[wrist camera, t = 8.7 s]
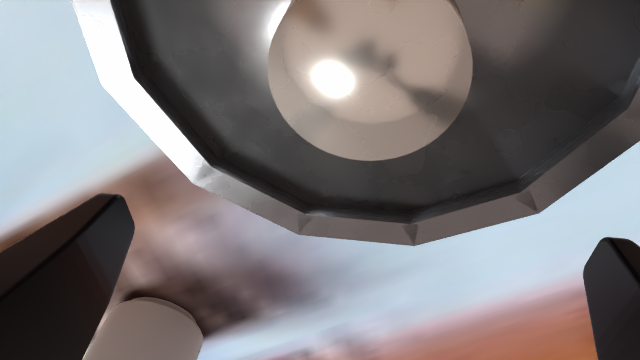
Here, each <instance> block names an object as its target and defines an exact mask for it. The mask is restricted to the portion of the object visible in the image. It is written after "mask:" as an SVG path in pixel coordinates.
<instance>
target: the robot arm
mask: <svg viewBox="0 0 640 360" xmlns="http://www.w3.org/2000/svg"><path fill="white" fill-rule="evenodd" d="M134 230H135V226H134V221H133V219H132V216H131V214H130V211H129V209H128V206H127V204H126V201H125V199H124V198H123V197H122V196H121V195H119V194H110V193H100V194H98V195H96V196H94V197H92V198H91V199H89V200H87V201H86V202H84V203H82V204H81V205H79V206H77V207H75V208H74V209H72V210H70V211H69V212H67V213H65V214H64V215H62V216H60V217H59V218H57V219H55V220H54V221H52V222H50V223H49V224H47V225H45V226H43V227H42V228H40V229H38V230H37V231H35V232H33V233H32V234H30V235H28V236H27V237H25V238H23V239H22V240H20V241H18V242H16V243H15V244H13V245H11V246H10V247H8V248H6V249H5V250H3V251H1V252H0V360H82V359H83V356H84V354H85V352H86V350H87V348H88V346H89V344H90V342H91V340H92V338H93V336H94V334H95V332H96V330H97V327H98V325H99V323H100V321H101V319H102V317H103V315H104V313H105V311H106V309H107V306H108V304H109V302H110V299H111V297H112V294H113V292H114V289H115V286H116V283H117V281H118V278H119V275H120V272H121V269H122V266H123V264H124V261H125V258H126V255H127V252H128V249H129V247H130V244H131V241H132V238H133V235H134ZM583 279H584V285H585V291H586V296H587V302H588V308H589V313H590V319H591V325H592V330H593V336H594V342H595V347H596V351H597V356H598V360H640V247H639V246H638V245H637V244H636V243H634V242H633V241H631V240H629V239H623V238H612V237H606V238H603V239H602V240H600V242H599V243H598V245H597V246H596V248H595V250H594V251H593V253H592V255H591V256H590V258H589V260H588V261H587V263H586V265H585V267H584V271H583Z"/></svg>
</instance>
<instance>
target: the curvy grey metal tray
mask: <svg viewBox="0 0 640 360" xmlns="http://www.w3.org/2000/svg"><path fill="white" fill-rule="evenodd" d="M71 1H72V4H73V6H74V9H75V12H76V15H77V17H78V20H79V23H80V26H81V29H82V31H83V34H84V37H85V40H86V42H87V45H88V48H89V51H90V54H91V56H92V59H93V62H94V65H95V68H96V70H97V73H98V76H99V79H100V81H101V84H102V85H103V87H104V88H105V89H106V90H107V91H108V92H109V93H110V94H111V95H112V96H113V97H114V98H115V100H116V101H117V102H118V103H119V104H120V105H121V106H122V107H123V108H124V109H125V110H126V111H127V113H128V114H129V115H130V116H131V117H132V118H133V119H134V120H135V121H136V122H137V123H138V124H139V125H140V127H141V128H142V129H143V130H144V131H145V132H146V133H147V134H148V135H149V136H150V137H151V138H152V140H153V141H154V142H155V143H156V144H157V145H158V146H159V147H160V148H161V149H162V150H163V151H164V153H165V154H166V155H167V156H168V157H169V158H170V159H171V160H172V161H173V162H174V163H175V164H176V165H177V167H178V168H179V169H180V170H181V171H182V172H183V173H184V174H185V175H186V176H187V177H188V178H189V180H190V181H191V182H192V183H194V184H196V185H198V186H200V187H202V188H204V189H206V190H208V191H210V192H212V193H214V194H216V195H218V196H220V197H222V198H224V199H226V200H228V201H231V202H233V203H235V204H237V205H239V206H241V207H243V208H245V209H247V210H249V211H251V212H253V213H255V214H257V215H259V216H261V217H263V218H265V219H268V220H270V221H272V222H274V223H276V224H278V225H280V226H282V227H284V228H286V229H288V230H290V231H292V232H294V233H296V234H298V235H307V236H317V237H328V238H338V239H348V240H359V241H369V242H379V243H390V244H400V245H410V246H416V245H420V244H424V243H427V242H431V241H435V240H439V239H443V238H446V237H450V236H454V235H458V234H462V233H466V232H469V231H473V230H477V229H481V228H485V227H488V226H492V225H496V224H500V223H504V222H507V221H511V220H515V219H519V218H523V217H527V216H530V215H534V214H538V213H540V212H541V211H543V210H544V209H546V208H547V207H548V206H550V205H551V204H553V203H554V202H555V201H557V200H558V199H559V198H561V197H562V196H564V195H565V194H566V193H568V192H569V191H571V190H572V189H573V188H575V187H576V186H578V185H579V184H580V183H582V182H583V181H585V180H586V179H587V178H589V177H590V176H591V175H593V174H594V173H596V172H597V171H598V170H600V169H601V168H603V167H604V166H605V165H607V164H608V163H610V162H611V161H612V160H614V159H615V158H616V157H618V156H619V155H621V154H622V153H623V152H625V151H626V150H628V149H629V148H630V147H632V146H633V145H635V144H636V143H637V142H639V141H640V0H457V3H458V7H459V10H460V13H461V17H462V20H463V24H464V27H465V30H466V34H467V37H468V40H469V44H470V47H471V53H472V61H473V69H472V80H471V86H470V89H469V93H468V96H467V99H466V101H465V103H464V105H463V107H462V109H461V111H460V112H459V114H458V116H457V117H456V119H455V120H454V121H453V122H452V124H451V125H450V126H449V127H448V128H447V129H446V130H445V131H444V132H443V133H442V134H441V135H440V136H439V137H437V138H436V139H435V140H433V141H432V142H430V143H429V144H428V145H426V146H424V147H422V148H420V149H418V150H416V151H414V152H412V153H409V154H407V155H403V156H400V157H397V158H392V159H386V160H376V161H363V160H354V159H348V158H343V157H339V156H336V155H333V154H330V153H328V152H326V151H323V150H321V149H319V148H317V147H316V146H314V145H312V144H311V143H309V142H308V141H306V140H305V139H304V138H302V137H301V136H300V135H299V134H298V133H297V132H296V131H295V130H294V129H293V128H292V127H291V126H290V125H289V124H288V123H287V121H286V120H285V119H284V118H283V116H282V114H281V113H280V111H279V109H278V108H277V105H276V103H275V101H274V99H273V96H272V93H271V89H270V86H269V80H268V64H267V62H268V54H269V48H270V45H271V41H272V38H273V35H274V33H275V31H276V28H277V26H278V24H279V23H280V21H281V19H282V17H283V15H284V13H285V12H286V10H287V8H288V6H289V4H290V2H291V1H292V0H71Z"/></svg>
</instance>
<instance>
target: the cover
mask: <svg viewBox="0 0 640 360" xmlns="http://www.w3.org/2000/svg"><path fill="white" fill-rule="evenodd" d="M267 64H268V80H269V86H270V89H271V93H272V96H273V99H274V101H275V103H276V105H277V108H278V109H279V111H280V113H281V114H282V116H283V118H284V119H285V120H286V121H287V123H288V124H289V125H290V126H291V127H292V128H293V129H294V130H295V131H296V132H297V133H298V134H299V135H300V136H301V137H302V138H304V139H305V140H306V141H308V142H309V143H311V144H312V145H314V146H316V147H317V148H319V149H321V150H323V151H326V152H328V153H330V154H333V155H336V156H339V157H343V158H348V159H354V160H363V161H376V160H386V159H392V158H397V157H400V156H403V155H407V154H409V153H412V152H414V151H416V150H418V149H420V148H422V147H424V146H426V145H428V144H429V143H430V142H432V141H433V140H435V139H436V138H437V137H439V136H440V135H441V134H442V133H443V132H444V131H445V130H446V129H447V128H448V127H449V126H450V125H451V124H452V122H453V121H454V120H455V119H456V117H457V116H458V114H459V112H460V111H461V109H462V107H463V105H464V103H465V101H466V99H467V96H468V93H469V89H470V86H471V80H472V69H473V61H472V53H471V47H470V44H469V40H468V37H467V34H466V30H465V27H464V24H463V20H462V17H461V13H460V10H459V7H458V3H457V0H292V1H291V2H290V4H289V6H288V8H287V10H286V12H285V13H284V15H283V17H282V19H281V21H280V23H279V24H278V26H277V28H276V31H275V33H274V35H273V38H272V41H271V45H270V48H269V54H268V62H267Z"/></svg>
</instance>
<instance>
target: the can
mask: <svg viewBox="0 0 640 360" xmlns="http://www.w3.org/2000/svg"><path fill="white" fill-rule="evenodd" d="M202 343H203V335H202V332H201V330H200V328H199V327H198V325H197V323H196V321H195V319H194V318H193V317H192V316H191V314H190V313H189V312H187V311H186V310H184V309H183V308H181V307H180V306H178V305H176V304H173V303H171V302H169V301H166V300H162V299H158V298H151V297H140V298H134V299H132V300H130V301H125V302H121V303H119V304H117V305H115V306H114V307H113V308H112V310H111V311H110V313H109V315H108V316H107V318H106V320H105V322H104V323H103V325H102V327H101V329H100V331H99V332H98V334H97V336H96V338H95V339H94V341H93V343H92V345H91V346H90V348H89V350H88V352H87V353H86V355H85V357H84V359H83V360H197V358H198V355H199V352H200V349H201V347H202Z"/></svg>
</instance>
